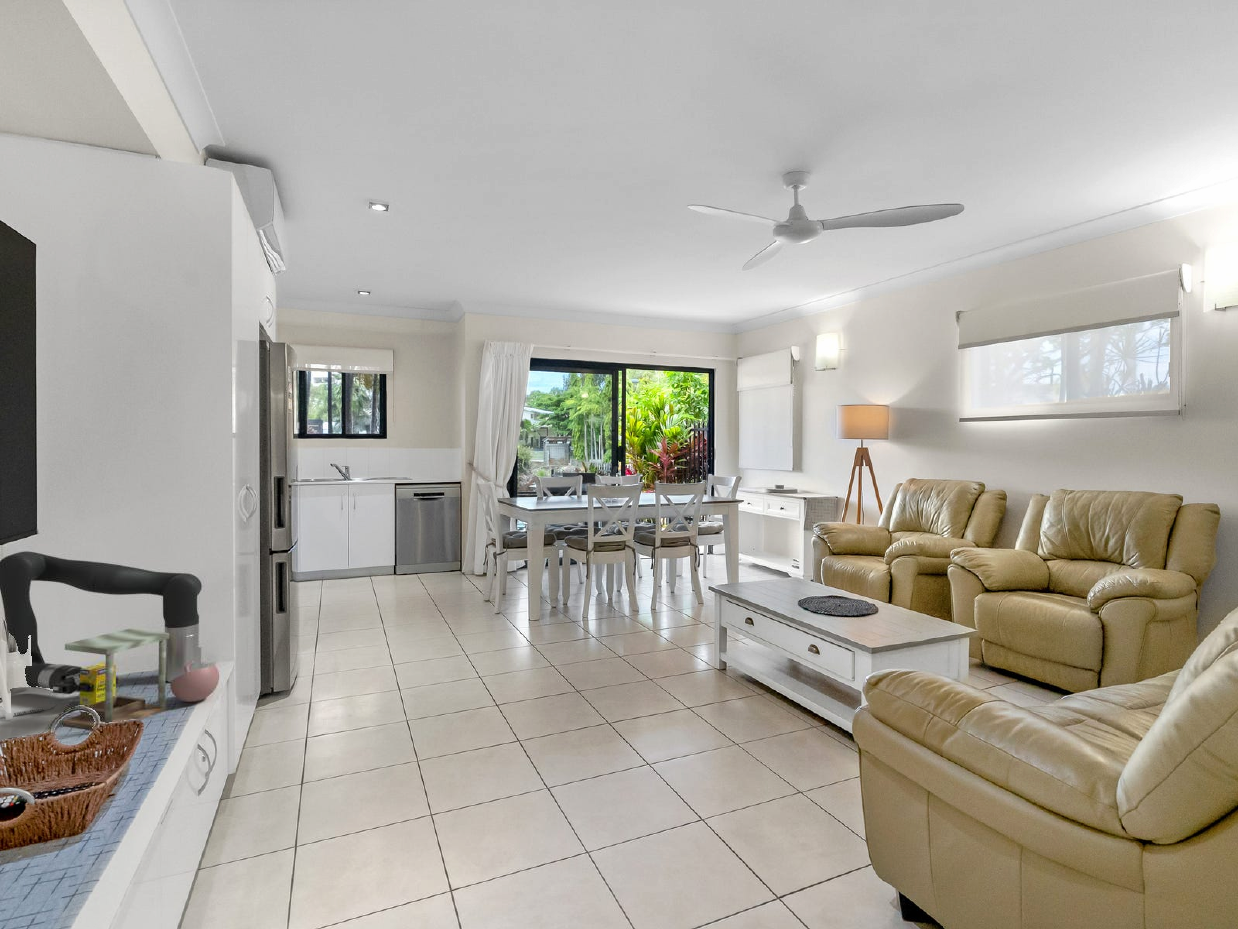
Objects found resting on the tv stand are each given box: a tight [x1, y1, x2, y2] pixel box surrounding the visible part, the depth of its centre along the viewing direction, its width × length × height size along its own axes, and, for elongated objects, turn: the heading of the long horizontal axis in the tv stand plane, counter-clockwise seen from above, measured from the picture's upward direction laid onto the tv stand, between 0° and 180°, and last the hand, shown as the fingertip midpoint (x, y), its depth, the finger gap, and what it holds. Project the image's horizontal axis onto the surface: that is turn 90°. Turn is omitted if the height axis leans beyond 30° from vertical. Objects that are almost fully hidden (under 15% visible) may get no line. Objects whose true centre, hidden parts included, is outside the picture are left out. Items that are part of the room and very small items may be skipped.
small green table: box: [62, 628, 169, 730], centre depth 178 cm, size 17×16×22 cm
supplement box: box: [79, 662, 117, 706], centre depth 186 cm, size 6×6×11 cm
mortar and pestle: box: [169, 661, 220, 703], centre depth 191 cm, size 12×12×12 cm
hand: (104, 684), depth 186 cm, fingers closed on supplement box, 6 cm apart
